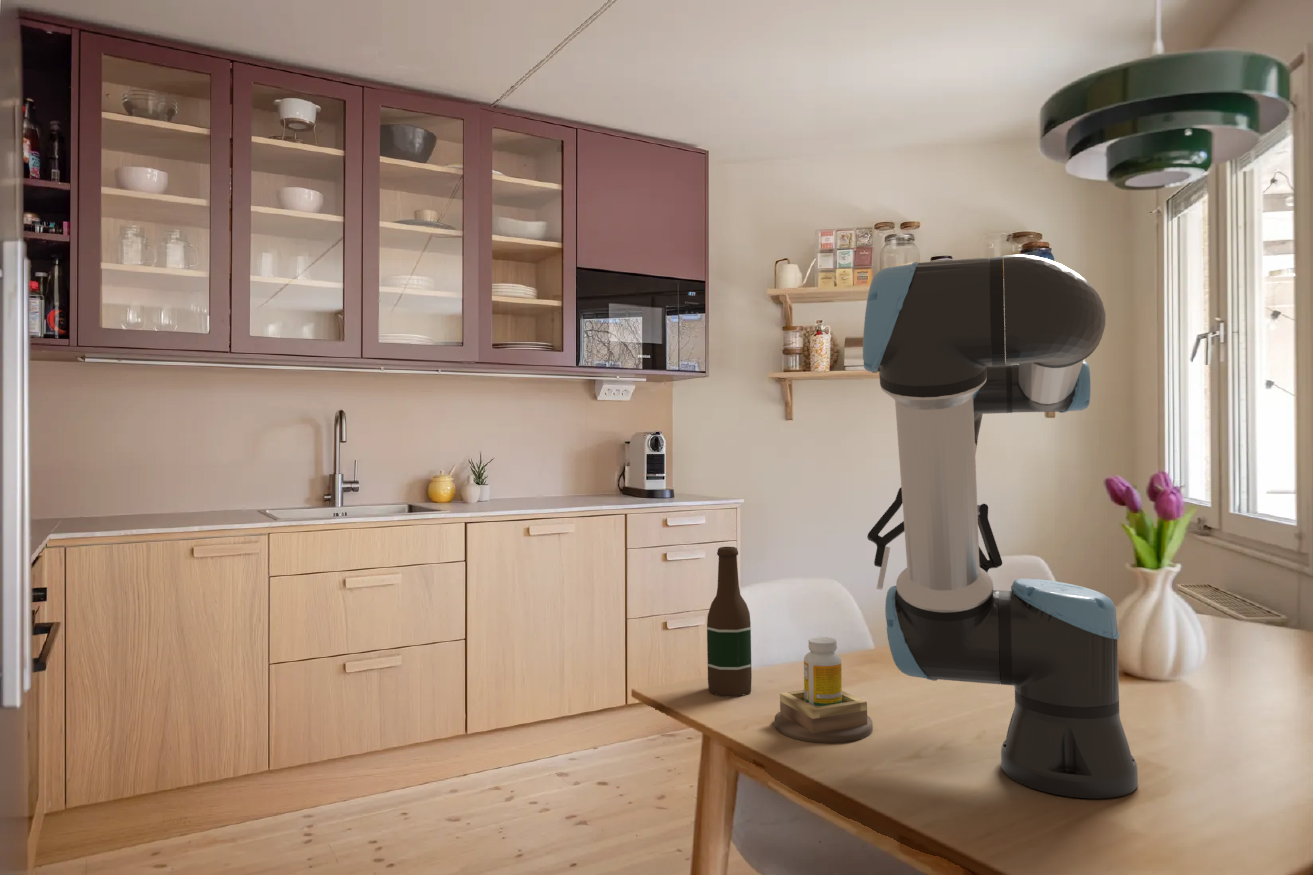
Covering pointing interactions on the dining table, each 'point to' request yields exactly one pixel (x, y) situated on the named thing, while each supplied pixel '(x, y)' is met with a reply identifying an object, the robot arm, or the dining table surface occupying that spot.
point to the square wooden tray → (823, 719)
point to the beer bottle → (728, 632)
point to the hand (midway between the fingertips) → (924, 599)
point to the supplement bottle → (822, 673)
